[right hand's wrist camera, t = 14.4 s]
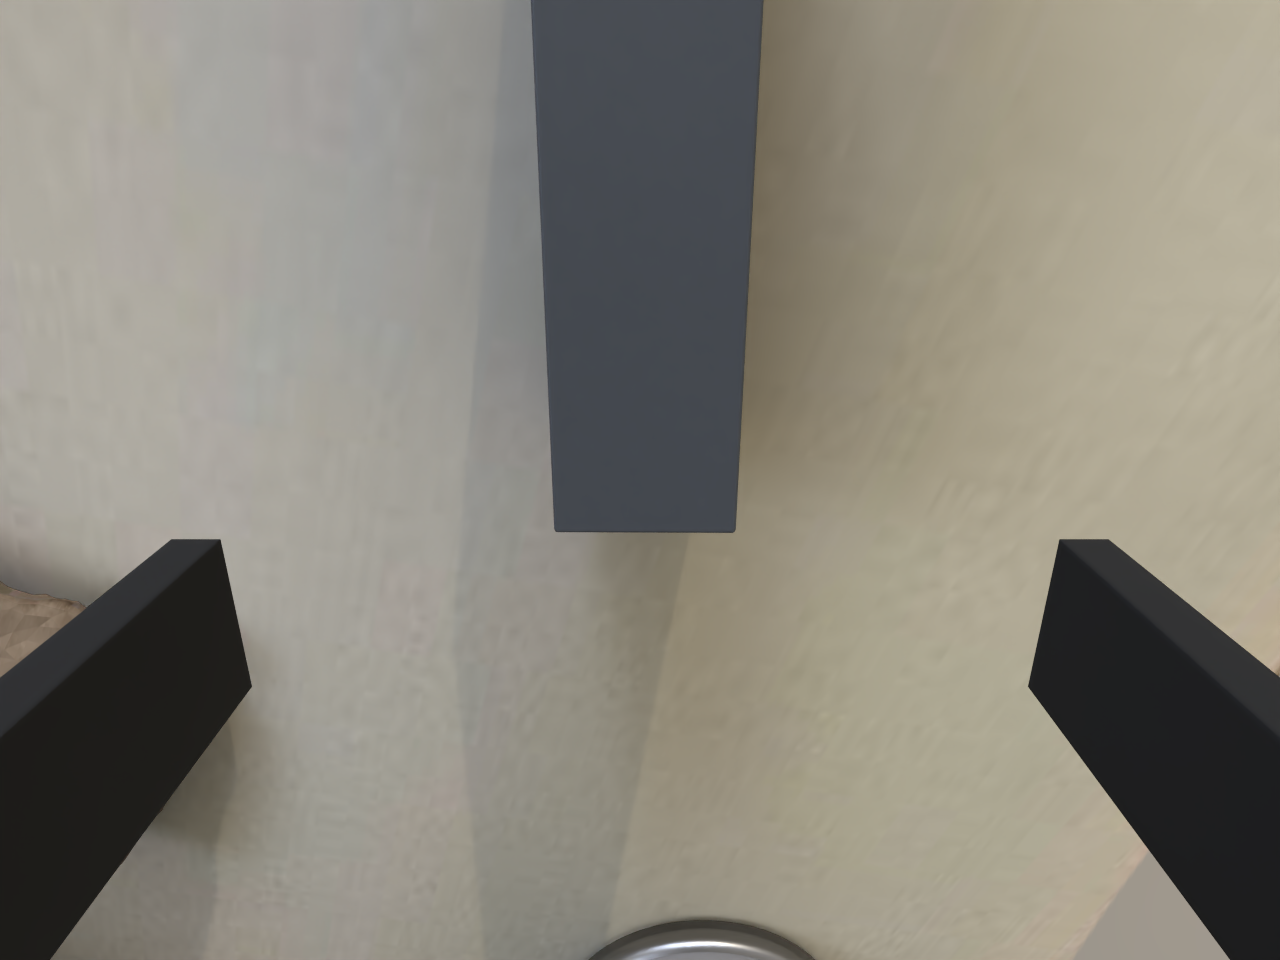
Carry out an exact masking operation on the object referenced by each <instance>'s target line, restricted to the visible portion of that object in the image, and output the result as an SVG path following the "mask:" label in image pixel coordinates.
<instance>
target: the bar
mask: <svg viewBox="0 0 1280 960" xmlns="http://www.w3.org/2000/svg"><path fill="white" fill-rule="evenodd" d="M531 12H532V34H533V57H534V79H535V102H536V125H537V147H538V170H539V192H540V215H541V238H542V260H543V283H544V305H545V328H546V351H547V373H548V396H549V418H550V441H551V464H552V486H553V509H554V529H555V531H556V532H682V533H733V532H735V530H736V512H737V493H738V474H739V455H740V436H741V417H742V398H743V379H744V360H745V341H746V322H747V303H748V284H749V265H750V246H751V227H752V208H753V189H754V170H755V151H756V132H757V113H758V94H759V75H760V56H761V37H762V18H763V0H531Z"/></svg>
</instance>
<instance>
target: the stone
mask: <svg viewBox="0 0 1280 960" xmlns="http://www.w3.org/2000/svg"><path fill="white" fill-rule="evenodd" d="M85 609H86V607H84V606H83V605H82V604H81V603H80V602H79V601H70V600H68V599H56V598H54V597H52V596H49V595H47V594H42V595H32V594H28V593H25V592H22V591H18V590H15V589H12V588H10V587H7V586H6V585H5V584H3V583H2V582H1V581H0V677H2V676H3V675H4V674H5V673H6V672H8V671H9V670H10V669H11V668H13V667H14V666H15V665H16V664H18V663H19V662H20V661H21V660H23V659H24V658H25V657H26V656H28V655H29V654H30V653H31V652H33V651H34V650H35V649H36V648H37V647H39V646H40V645H41V644H42V643H44V642H45V641H46V640H47V639H49V638H50V637H51V636H52V635H54V634H55V633H56V632H57V631H59V630H60V629H61V628H62V627H64V626H65V625H66V624H67V623H68V622H70V621H71V620H72V619H73V618H75V617H76V616H77V615H78V614H80V613H81V612H82V611H83V610H85ZM163 807H164V806H163ZM163 807H162V809H163ZM162 809H161V810H160V811H162ZM160 811H159V812H160ZM131 850H132V849H131ZM129 853H130V852H129ZM129 853H128V854H129ZM127 856H128V855H127ZM127 856H126V857H127ZM126 857H125V859H126ZM125 859H124V860H125ZM124 860H123V861H124ZM121 864H122V863H121ZM121 864H120V865H121Z"/></svg>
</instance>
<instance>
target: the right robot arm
mask: <svg viewBox="0 0 1280 960" xmlns="http://www.w3.org/2000/svg"><path fill="white" fill-rule="evenodd" d="M251 687H252V685H251V680H250V676H249V671H248V666H247V662H246V657H245V652H244V647H243V643H242V638H241V633H240V629H239V624H238V619H237V615H236V610H235V605H234V601H233V596H232V591H231V587H230V582H229V577H228V573H227V568H226V563H225V558H224V554H223V549H222V544H221V540H220V539H171V540H170V541H169V542H168V543H166V544H165V545H164V546H163V547H161V548H160V549H159V550H158V551H157V552H155V553H154V554H153V555H152V556H150V557H149V558H148V559H147V560H145V561H144V562H143V563H142V564H140V565H139V566H138V567H137V568H135V569H134V570H133V571H132V572H130V573H129V574H128V575H127V576H126V577H124V578H123V579H122V580H121V581H119V582H118V583H117V584H116V585H114V586H113V587H112V588H111V589H109V590H108V591H107V592H106V593H104V594H103V595H102V596H101V597H99V598H98V599H97V600H96V601H95V602H93V603H92V604H91V605H90V606H88V607H87V608H86V609H85V610H83V611H82V612H81V613H80V614H78V615H77V616H76V617H75V618H73V619H72V620H71V621H70V622H68V623H67V624H66V625H65V626H64V627H62V628H61V629H60V630H59V631H57V632H56V633H55V634H54V635H52V636H51V637H50V638H49V639H47V640H46V641H45V642H44V643H42V644H41V645H40V646H39V647H37V648H36V649H35V650H34V651H33V652H31V653H30V654H29V655H28V656H26V657H25V658H24V659H23V660H21V661H20V662H19V663H18V664H16V665H15V666H14V667H13V668H11V669H10V670H9V671H8V672H6V673H5V674H4V675H3V676H2V677H0V960H50V959H51V958H52V956H53V955H54V953H55V952H56V951H57V949H58V948H59V947H60V945H61V944H62V943H63V941H64V940H65V939H66V937H67V936H68V935H69V933H70V932H71V930H72V929H73V928H74V926H75V925H76V924H77V922H78V921H79V920H80V918H81V917H82V916H83V914H84V913H85V912H86V910H87V909H88V907H89V906H90V905H91V903H92V902H93V901H94V899H95V898H96V897H97V895H98V894H99V893H100V891H101V890H102V889H103V887H104V886H105V885H106V883H107V882H108V880H109V879H110V878H111V876H112V875H113V874H114V872H115V871H116V870H117V868H118V867H119V866H120V864H121V863H122V862H123V860H124V859H125V857H126V856H127V855H128V853H129V852H130V851H131V849H132V848H133V847H134V845H135V844H136V843H137V841H138V840H139V839H140V837H141V836H142V834H143V833H144V832H145V830H146V829H147V828H148V826H149V825H150V824H151V822H152V821H153V820H154V818H155V817H156V816H157V814H158V813H159V811H160V810H161V809H162V807H163V806H164V805H165V803H166V802H167V801H168V799H169V798H170V797H171V795H172V794H173V793H174V791H175V790H176V788H177V787H178V786H179V784H180V783H181V782H182V780H183V779H184V778H185V776H186V775H187V774H188V772H189V771H190V770H191V768H192V767H193V765H194V764H195V763H196V761H197V760H198V759H199V757H200V756H201V755H202V753H203V752H204V751H205V749H206V748H207V747H208V745H209V744H210V742H211V741H212V740H213V738H214V737H215V736H216V734H217V733H218V732H219V730H220V729H221V728H222V726H223V725H224V724H225V722H226V721H227V720H228V718H229V717H230V715H231V714H232V713H233V711H234V710H235V709H236V707H237V706H238V705H239V703H240V702H241V701H242V699H243V698H244V697H245V695H246V694H247V692H248V691H249V690H250V688H251ZM1028 687H1029V688H1030V690H1031V691H1032V692H1033V694H1034V695H1035V697H1036V698H1037V699H1038V701H1039V702H1040V703H1041V705H1042V706H1043V707H1044V709H1045V710H1046V711H1047V713H1048V714H1049V715H1050V717H1051V718H1052V720H1053V721H1054V722H1055V724H1056V725H1057V726H1058V728H1059V729H1060V730H1061V732H1062V733H1063V734H1064V736H1065V737H1066V738H1067V740H1068V741H1069V742H1070V744H1071V745H1072V747H1073V748H1074V749H1075V751H1076V752H1077V753H1078V755H1079V756H1080V757H1081V759H1082V760H1083V761H1084V763H1085V764H1086V765H1087V767H1088V768H1089V770H1090V771H1091V772H1092V774H1093V775H1094V776H1095V778H1096V779H1097V780H1098V782H1099V783H1100V784H1101V786H1102V787H1103V788H1104V790H1105V791H1106V793H1107V794H1108V795H1109V797H1110V798H1111V799H1112V801H1113V802H1114V803H1115V805H1116V806H1117V807H1118V809H1119V810H1120V811H1121V813H1122V814H1123V816H1124V817H1125V818H1126V820H1127V821H1128V822H1129V824H1130V825H1131V826H1132V828H1133V829H1134V830H1135V832H1136V833H1137V834H1138V836H1139V837H1140V839H1141V840H1142V841H1143V843H1144V844H1145V845H1146V847H1147V848H1148V849H1149V851H1150V852H1151V853H1152V855H1153V856H1154V857H1155V859H1156V860H1157V862H1158V863H1159V864H1160V866H1161V867H1162V868H1163V870H1164V871H1165V872H1166V874H1167V875H1168V876H1169V878H1170V879H1171V880H1172V882H1173V883H1174V885H1175V886H1176V887H1177V889H1178V890H1179V891H1180V893H1181V894H1182V895H1183V897H1184V898H1185V899H1186V901H1187V902H1188V903H1189V905H1190V906H1191V907H1192V909H1193V910H1194V912H1195V913H1196V914H1197V916H1198V917H1199V918H1200V920H1201V921H1202V922H1203V924H1204V925H1205V926H1206V928H1207V929H1208V930H1209V932H1210V933H1211V935H1212V936H1213V937H1214V939H1215V940H1216V941H1217V943H1218V944H1219V945H1220V947H1221V948H1222V949H1223V951H1224V952H1225V953H1226V955H1227V956H1228V958H1229V959H1230V960H1280V677H1278V676H1277V675H1276V674H1275V673H1274V672H1272V671H1271V670H1270V669H1269V668H1267V667H1266V666H1265V665H1264V664H1262V663H1261V662H1260V661H1259V660H1257V659H1256V658H1255V657H1254V656H1252V655H1251V654H1250V653H1249V652H1247V651H1246V650H1245V649H1244V648H1243V647H1241V646H1240V645H1239V644H1238V643H1236V642H1235V641H1234V640H1233V639H1231V638H1230V637H1229V636H1228V635H1226V634H1225V633H1224V632H1223V631H1221V630H1220V629H1219V628H1218V627H1216V626H1215V625H1214V624H1213V623H1212V622H1210V621H1209V620H1208V619H1207V618H1205V617H1204V616H1203V615H1202V614H1200V613H1199V612H1198V611H1197V610H1195V609H1194V608H1193V607H1192V606H1190V605H1189V604H1188V603H1187V602H1185V601H1184V600H1183V599H1182V598H1181V597H1179V596H1178V595H1177V594H1176V593H1174V592H1173V591H1172V590H1171V589H1169V588H1168V587H1167V586H1166V585H1164V584H1163V583H1162V582H1161V581H1159V580H1158V579H1157V578H1156V577H1154V576H1153V575H1152V574H1151V573H1150V572H1148V571H1147V570H1146V569H1145V568H1143V567H1142V566H1141V565H1140V564H1138V563H1137V562H1136V561H1135V560H1133V559H1132V558H1131V557H1130V556H1128V555H1127V554H1126V553H1125V552H1123V551H1122V550H1121V549H1120V548H1119V547H1117V546H1116V545H1115V544H1114V543H1112V542H1111V541H1110V540H1109V539H1060V540H1059V544H1058V549H1057V554H1056V558H1055V563H1054V568H1053V573H1052V577H1051V582H1050V587H1049V591H1048V596H1047V601H1046V605H1045V610H1044V615H1043V619H1042V624H1041V629H1040V633H1039V638H1038V643H1037V647H1036V652H1035V657H1034V662H1033V666H1032V671H1031V676H1030V680H1029V685H1028ZM589 960H814V959H813V958H812V957H811V956H810V955H809V954H808V953H806V952H805V951H804V950H803V949H801V948H800V947H798V946H797V945H795V944H793V943H792V942H790V941H788V940H786V939H784V938H782V937H780V936H778V935H776V934H773V933H771V932H768V931H765V930H762V929H759V928H755V927H752V926H747V925H743V924H738V923H731V922H723V921H682V922H675V923H668V924H663V925H658V926H654V927H650V928H647V929H643V930H640V931H637V932H635V933H632V934H629V935H627V936H625V937H623V938H621V939H618V940H616V941H615V942H613V943H611V944H609V945H608V946H606V947H605V948H603V949H602V950H600V951H599V952H597V953H596V954H595V955H594V956H593V957H591V958H590V959H589Z"/></svg>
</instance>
